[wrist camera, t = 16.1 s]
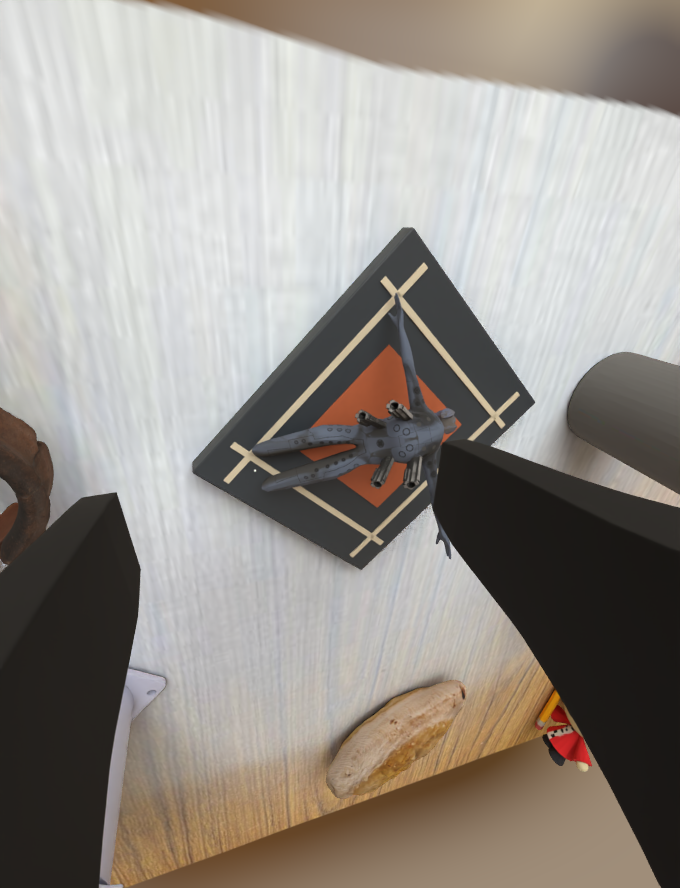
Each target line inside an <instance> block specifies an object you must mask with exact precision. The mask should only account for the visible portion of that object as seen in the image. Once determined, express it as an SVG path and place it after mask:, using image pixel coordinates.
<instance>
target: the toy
mask: <svg viewBox="0 0 680 888" xmlns="http://www.w3.org/2000/svg"><path fill="white" fill-rule="evenodd" d="M564 708H565V711H564V710H563V709H562V708H561V707H560V706H559V705H556V707H555V709H554V710H553V712H552V714H551V718H552V719H553V720H554V721H555V722H560V723H566V724H568V725H560V726H552V727H549V728H548V729H547V734H544V735H543V741H544V742H545V744H546V745H547V746H548V747H549V754H550V756H551V758H552V759H553V760H554V761H555V763H556V764H558V765H559V766H562V765H563V764H564V761H565V759H568V760H570V761H575V762H576V765H577V767H578V768H579V770H581V771H583V772H584V771H587V770H588V766H592V764H591V761H590V758H589V755H588V752H587V749H586V746H585V743H584V740H583V736H582V734H581V732H580V730H579V729H578V727H577V725H576V723H575V722H574V720H573V718H572V717H571V715H570V713H569V711H568V710H567V708H566V706H565V705H564Z"/></svg>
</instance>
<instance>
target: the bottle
mask: <svg viewBox="0 0 680 888" xmlns="http://www.w3.org/2000/svg"><path fill="white" fill-rule="evenodd" d="M568 422H569V426H570V428H571V430H572V431H573V433H575V434H576V435H577V436H578V437H580V438H581V439H583V440H585V441H586V442H588V443H590V444H591V445H593V446H595V447H597V448H598V449H600V450H602V451H604V452H605V453H607V454H609V455H611V456H612V457H614V458H616V459H618V460H620V461H621V462H623V463H625V464H627V465H628V466H630V467H632V468H634V469H635V470H637V471H639V472H641V473H642V474H644V475H646V476H648V477H649V478H651V479H653V480H655V481H657V482H658V483H660V484H662V485H664V486H666V487H667V488H669V489H671V490H673V491H674V492H676V493H678V494H680V366H677V365H674V364H670V363H667V362H664V361H660V360H657V359H653V358H650V357H646V356H643V355H639V354H635V353H631V352H621V353H617V354H613V355H611V356H609V357H607V358H605V359H603V360H602V361H600V362H599V363H597V364H596V365H595V366H594V367H593V368H592V369H590V370H589V371H588V373H587V374H586V375H585V376H584V377H583V379H582V380H581V381H580V383H579V384H578V386H577V388H576V389H575V391H574V393H573V396H572V398H571V401H570V405H569V408H568Z"/></svg>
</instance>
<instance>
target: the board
mask: <svg viewBox="0 0 680 888" xmlns="http://www.w3.org/2000/svg"><path fill="white" fill-rule="evenodd" d="M395 293H397V294H398V297H399V299H400V303H401V307H402V310H403V316H404V324H403V325H404V330H405V333H406V335H407V338H408V341H409V344H410V347H411V351H412V356H413V361H414V367H415V372H416V376H417V379H418V383H419V386H420V389H421V392H422V395H423V398H424V401H425V404H426V405H427V407H428V408H429V409H431V410H432V411H433V412H434V413H437V412H438V411H440V410H443V409H445V408H449V409H451V410H453V411H454V412H455V413H454V417H455V419H456V422H455V424H456V426H457V428H456V430H455V431H454V432H452V433H450V434H445V433H444V435H443V439H442V442H446V441H453V440H459V439H467V440H471V441H475V442H479V443H482V444H485V445H488V446H491V445H492V444H493V443H494V442H495V441H496V440H497V439H498V438H499V437H500V436H501V435H502V434H503V433H504V432H505V431H506V430H507V429H508V428H509V427H510V426H511V425H513V424H514V423H515V422H516V421H517V420H518V419H519V418H520V417H521V416H522V415H523V414H524V413H525V412H526V411H527V410H528V409H529V408H530V407H531V406H532V405H533V404H534V403H535V401H534V400H533V398H532V397H531V395H530V394H529V393H528V391H527V390H526V388H525V387H524V385H523V384H522V383H521V381H520V380H519V378H518V377H517V375H516V374H515V373H514V371H513V370H512V368H511V367H510V365H509V364H508V362H507V361H506V360H505V358H504V357H503V355H502V354H501V352H500V351H499V350H498V348H497V347H496V345H495V344H494V342H493V341H492V340H491V338H490V337H489V335H488V334H487V332H486V331H485V330H484V328H483V327H482V325H481V324H480V322H479V321H478V319H477V318H476V317H475V315H474V314H473V312H472V311H471V309H470V308H469V307H468V305H467V304H466V302H465V301H464V299H463V298H462V297H461V295H460V294H459V292H458V291H457V289H456V288H455V287H454V285H453V284H452V282H451V281H450V279H449V278H448V277H447V275H446V274H445V272H444V271H443V269H442V268H441V266H440V265H439V264H438V262H437V261H436V259H435V258H434V256H433V255H432V254H431V252H430V251H429V249H428V248H427V246H426V245H425V244H424V242H423V241H422V239H421V238H420V236H419V235H418V234H417V232H416V231H415V229H414V228H402V229H401V230H400V231H399V232H398V234H397V235H396V236H395V237H394V238H393V239H392V240H391V241H390V242H389V244H388V245H387V246H386V247H385V248H384V249H383V250H382V251H381V253H380V254H379V255H378V256H377V257H376V258H375V259H374V260H373V261H372V263H371V264H370V265H369V266H368V267H367V268H366V269H365V270H364V271H363V273H362V274H361V275H360V276H359V277H358V278H357V279H356V280H355V282H354V283H353V284H352V285H351V286H350V287H349V288H348V289H347V290H346V292H345V293H344V294H343V295H342V296H341V297H340V298H339V299H338V300H337V302H336V303H335V304H334V305H333V306H332V307H331V308H330V309H329V311H328V312H327V313H326V314H325V315H324V316H323V317H322V318H321V319H320V321H319V322H318V323H317V324H316V325H315V326H314V327H313V328H312V329H311V331H310V332H309V333H308V334H307V335H306V336H305V337H304V338H303V340H302V341H301V342H300V343H299V344H298V345H297V346H296V347H295V348H294V350H293V351H292V352H291V353H290V354H289V355H288V356H287V357H286V358H285V360H284V361H283V362H282V363H281V364H280V365H279V366H278V367H277V369H276V370H275V371H274V372H273V373H272V374H271V375H270V376H269V377H268V379H267V380H266V381H265V382H264V383H263V384H262V385H261V386H260V388H259V389H258V390H257V391H256V392H255V393H254V394H253V395H252V396H251V398H250V399H249V400H248V401H247V402H246V403H245V404H244V405H243V406H242V408H241V409H240V410H239V411H238V412H237V413H236V414H235V415H234V417H233V418H232V419H231V420H230V421H229V422H228V423H227V424H226V425H225V427H224V428H223V429H222V430H221V431H220V432H219V433H218V434H217V435H216V437H215V438H214V439H213V440H212V441H211V442H210V443H209V444H208V446H207V447H206V448H205V449H204V450H203V451H202V452H201V453H200V454H199V456H198V457H197V458H196V459H195V460H194V461H193V473H194V474H196V475H197V476H199V477H201V478H203V479H204V480H206V481H208V482H209V483H211V484H213V485H215V486H216V487H218V488H220V489H222V490H223V491H225V492H227V493H229V494H230V495H232V496H234V497H235V498H237V499H239V500H241V501H242V502H244V503H246V504H248V505H249V506H251V507H253V508H255V509H256V510H258V511H260V512H261V513H263V514H265V515H267V516H268V517H270V518H272V519H274V520H275V521H277V522H279V523H281V524H282V525H284V526H286V527H288V528H289V529H291V530H293V531H294V532H296V533H298V534H300V535H301V536H303V537H305V538H307V539H308V540H310V541H312V542H314V543H315V544H317V545H319V546H320V547H322V548H324V549H326V550H327V551H329V552H331V553H333V554H334V555H336V556H338V557H340V558H341V559H343V560H345V561H346V562H348V563H350V564H352V565H353V566H355V567H357V568H359V569H360V570H362V569H363V568H364V567H365V566H366V565H367V564H368V563H369V562H370V561H371V560H372V559H373V558H374V557H375V556H376V555H377V554H378V553H379V552H380V551H382V550H383V549H384V548H385V547H386V546H387V545H388V544H389V543H390V542H391V541H392V540H393V539H394V538H395V537H396V536H397V535H398V534H399V533H400V532H401V531H402V530H403V529H404V528H405V527H406V526H408V525H409V524H410V523H411V522H412V521H413V520H414V519H415V518H416V517H417V516H418V515H419V514H420V513H421V512H422V511H423V510H424V509H425V508H426V507H427V506H428V505H429V504H430V503H431V499H430V493H429V489H428V485H427V481H426V477H425V474H424V471H423V467H422V464H421V472H420V481H419V485H416V487H415V488H413V490H409V489H408V488H406V489H405V488H404V487H403V476H404V470H405V469H406V466H407V464H403V463H397V462H394V463H393V465H392V468H391V470H390V472H389V475H388V477H387V479H386V482H385V484H384V485H382V487H380V489H376V488H375V487H372V486H371V485H370V483H371V477H372V475H373V473H374V471H375V469H376V468H378V467H379V465H374V464H366V465H361V466H359V467H357V468H356V469H354V470H352V471H351V472H349V473H347V474H345V475H343V476H340V477H338V478H336V479H332V480H327V481H322V482H318V483H313V484H308V485H303V486H298V487H293V488H288V489H282V490H276V491H269V492H267V491H265V490H263V489H262V483H263V482H264V481H265V480H266V479H267V478H268V477H270V476H273V475H276V474H278V473H281V472H284V471H287V470H289V469H293V468H296V467H299V466H302V465H305V464H308V463H311V462H314V461H317V460H320V459H322V458H325V457H328V456H331V455H334V454H337V453H340V452H343V451H347V450H350V449H353V448H356V446H355V445H354V444H338V445H329V446H323V447H317V448H312V449H307V450H301V451H296V452H290V453H285V454H280V455H275V456H264V457H262V456H258V455H254V454H253V452H252V451H251V450H252V448H253V447H254V445H256V444H258V443H261V442H264V441H267V440H270V439H273V438H277V437H281V436H284V435H288V434H292V433H295V432H299V431H303V430H306V429H310V428H313V427H317V426H320V425H350V426H354V425H357V424H359V423H358V422H357V418H355V415H356V413H358V411H360V410H361V409H362V410H364V411H366V412H368V413H370V414H371V415H372V416H374V417H376V418H378V419H384V418H387V417H389V416H392V415H391V414H389V413H388V409H386V404H390V403H389V401H391V400H395V401H396V402H398V403H399V404H403V405H404V406H405V407H406V408H407V409H408V410H409V409H410V405H409V399H408V390H407V384H406V377H405V372H404V368H403V364H402V358H401V351H400V342H399V334H398V329H397V326H396V325H395V324H394V323H393V321H392V319H391V318H390V316H389V315H388V313H391V314H392V315H393V316H394V317H395V316H396V314H397V309H396V304H395V299H394V296H396V295H395ZM442 442H441V445H440V448H439V450H438V452H437V455H436V463H437V474H438V468H439V461H440V454H441V448H442ZM254 470H256V472H254Z"/></svg>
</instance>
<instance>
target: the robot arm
mask: <svg viewBox="0 0 680 888" xmlns="http://www.w3.org/2000/svg"><path fill="white" fill-rule="evenodd" d="M433 512H434V513H435V515H436V517H437V519H438V521H439V523H440V525H441V526H442V528H443V530H444V532H445V533H446V535H447V537H448V538H449V540H450V542H451V543H452V545H453V546H454V547H455V549H456V550H457V551H458V553H459V554H460V555H461V557H462V558H463V559H464V561H465V562H466V563H467V565H468V566H469V567H470V569H471V570H472V571H473V572H474V574H475V575H476V576H477V578H478V579H479V580H480V581H481V583H482V584H483V585H484V587H485V588H486V589H487V590H488V592H489V593H490V594H491V596H492V597H493V598H494V599H495V601H496V602H497V603H498V605H499V606H500V607H501V608H502V610H503V611H504V612H505V614H506V615H507V616H508V617H509V619H510V620H511V621H512V623H513V624H514V626H515V627H516V628H517V630H518V631H519V633H520V634H521V635H522V637H523V638H524V640H525V641H526V643H527V645H528V646H529V648H530V649H531V651H532V653H533V654H534V656H535V657H536V659H537V660H538V662H539V664H540V665H541V667H542V668H543V670H544V671H545V673H546V675H547V676H548V678H549V679H550V681H551V683H552V685H553V686H554V688H555V690H556V691H557V693H558V695H559V696H560V698H561V700H562V701H563V703H564V705H565V706H566V708H567V710H568V711H569V713H570V715H571V717H572V718H573V720H574V722H575V723H576V725H577V727H578V729H579V730H580V732H581V734H582V736H583V738H584V739H585V741H586V743H587V745H588V747H589V749H590V750H591V752H592V754H593V756H594V758H595V759H596V761H597V763H598V765H599V767H600V769H601V770H602V772H603V774H604V776H605V778H606V779H607V781H608V783H609V785H610V787H611V789H612V791H613V793H614V794H615V797H616V798H617V801H618V803H619V805H620V806H621V809H622V811H623V813H624V815H625V816H626V818H627V820H628V822H629V824H630V826H631V828H632V830H633V832H634V834H635V836H636V838H637V840H638V842H639V844H640V846H641V848H642V850H643V852H644V854H645V856H646V858H647V860H648V863H649V865H650V867H651V869H652V871H653V873H654V875H655V877H656V879H657V881H658V883H659V885H660V886H661V888H680V508H679V507H674V506H671V505H667V504H663V503H659V502H656V501H652V500H648V499H644V498H641V497H637V496H633V495H630V494H626V493H623V492H620V491H616V490H613V489H610V488H607V487H604V486H601V485H597V484H594V483H591V482H588V481H585V480H582V479H579V478H576V477H573V476H571V475H568V474H565V473H562V472H559V471H556V470H554V469H551V468H548V467H545V466H543V465H540V464H537V463H535V462H532V461H529V460H527V459H524V458H521V457H518V456H516V455H513V454H510V453H508V452H505V451H502V450H499V449H497V448H494V447H491V446H488V445H485V444H482V443H479V442H475V441H471V440H467V439H459V440H453V441H446V442H442V448H441V454H440V461H439V468H438V475H437V482H436V489H435V496H434V503H433ZM140 571H141V569H140V565H139V562H138V559H137V556H136V553H135V550H134V546H133V543H132V540H131V537H130V534H129V531H128V527H127V524H126V521H125V518H124V515H123V512H122V508H121V505H120V502H119V499H118V496H117V492H116V493H109V494H103V495H96V496H90V497H83V498H81V499H80V500H78V501H77V502H76V503H75V504H74V505H73V506H71V507H70V508H69V509H68V510H67V511H66V512H65V513H64V514H63V515H62V516H61V517H60V518H59V519H58V520H56V521H55V522H54V523H53V524H52V525H51V526H50V527H49V528H48V529H47V530H46V531H45V532H44V533H43V534H42V535H41V536H40V537H39V538H38V539H37V540H35V541H34V542H33V543H32V544H31V545H30V546H29V547H28V548H27V549H26V550H25V551H24V552H23V553H22V554H20V555H19V556H18V557H17V558H16V559H15V560H14V561H13V562H12V563H11V564H10V565H9V566H8V567H6V568H5V569H4V570H3V571H2V572H1V573H0V888H123V885H122V884H117V885H110V880H111V872H112V864H113V857H114V849H115V841H116V834H117V826H118V818H119V810H120V803H121V795H122V787H123V780H124V772H125V764H126V757H127V749H128V741H129V734H130V726H131V721H132V720H133V719H134V718H135V717H136V716H137V715H138V714H139V713H140V712H141V711H142V710H143V709H144V708H145V707H146V706H147V705H148V704H149V703H150V702H151V701H152V700H153V699H154V698H155V697H156V696H157V695H158V694H159V693H160V692H161V691H162V690H163V689H164V688H165V687H166V679H165V678H163V677H161V676H157V675H153V674H149V673H145V672H141V671H137V670H133V669H129V668H128V666H129V661H130V656H131V650H132V645H133V640H134V635H135V629H136V624H137V618H138V608H139V593H140Z"/></svg>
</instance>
